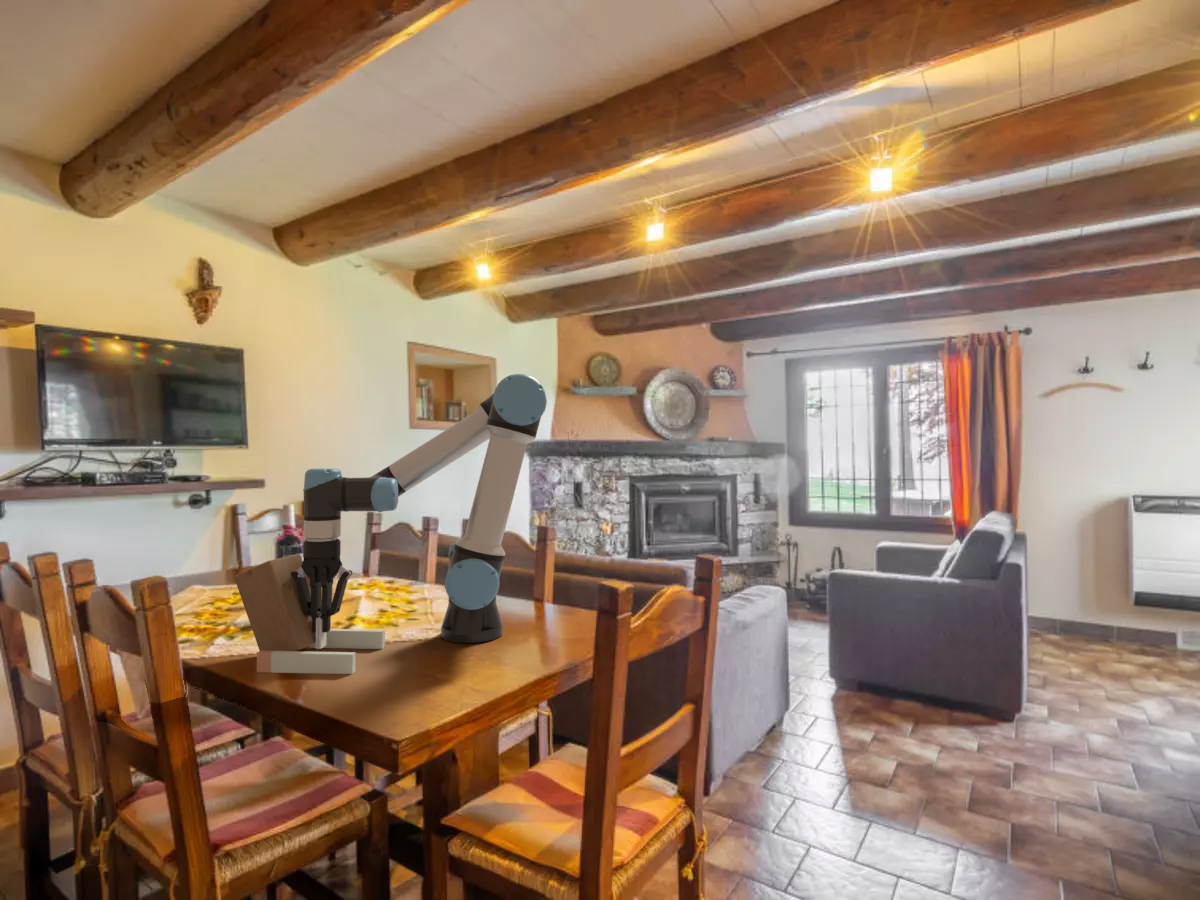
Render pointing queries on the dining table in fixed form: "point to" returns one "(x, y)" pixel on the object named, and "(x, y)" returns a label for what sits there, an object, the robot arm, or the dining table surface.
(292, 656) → the white bars
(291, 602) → the wooden block
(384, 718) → the dining table surface
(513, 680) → the dining table surface
